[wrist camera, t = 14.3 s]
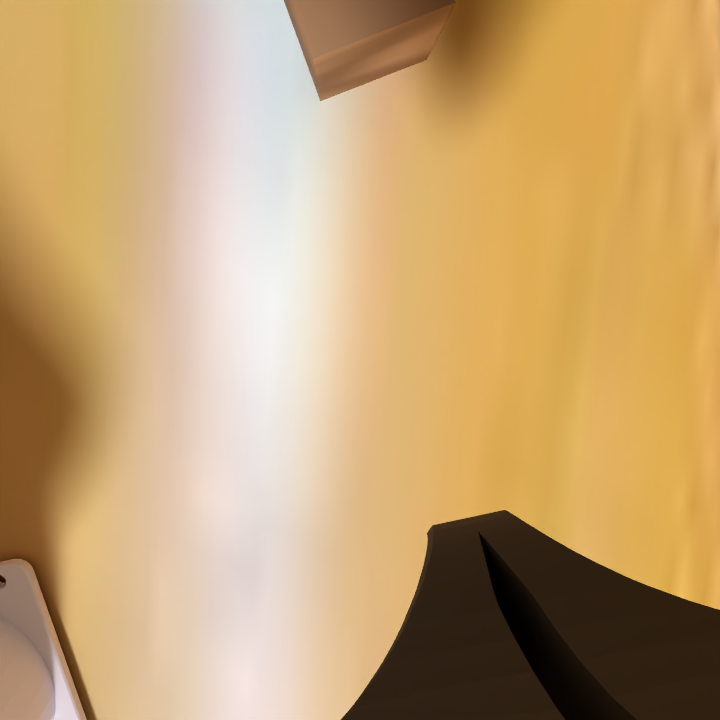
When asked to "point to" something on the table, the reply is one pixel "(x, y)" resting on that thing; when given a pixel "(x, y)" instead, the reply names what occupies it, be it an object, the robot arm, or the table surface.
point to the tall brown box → (364, 38)
